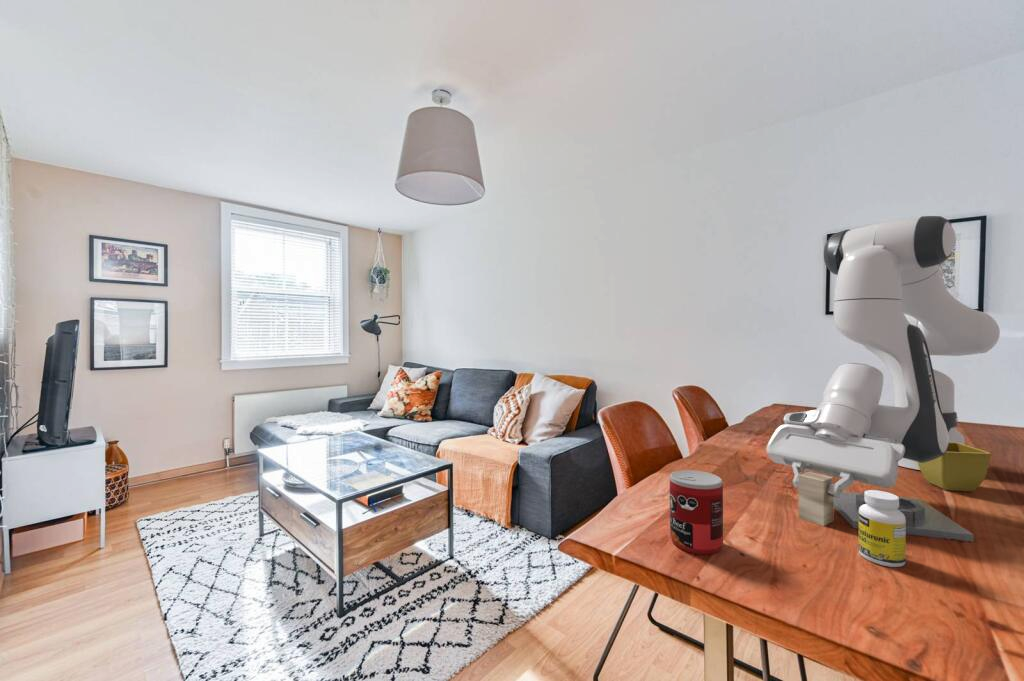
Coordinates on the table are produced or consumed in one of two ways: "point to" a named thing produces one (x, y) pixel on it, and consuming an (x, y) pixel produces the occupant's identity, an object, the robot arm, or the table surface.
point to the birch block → (815, 498)
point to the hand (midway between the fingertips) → (814, 490)
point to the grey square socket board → (907, 517)
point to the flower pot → (957, 468)
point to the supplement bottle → (882, 529)
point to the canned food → (696, 511)
